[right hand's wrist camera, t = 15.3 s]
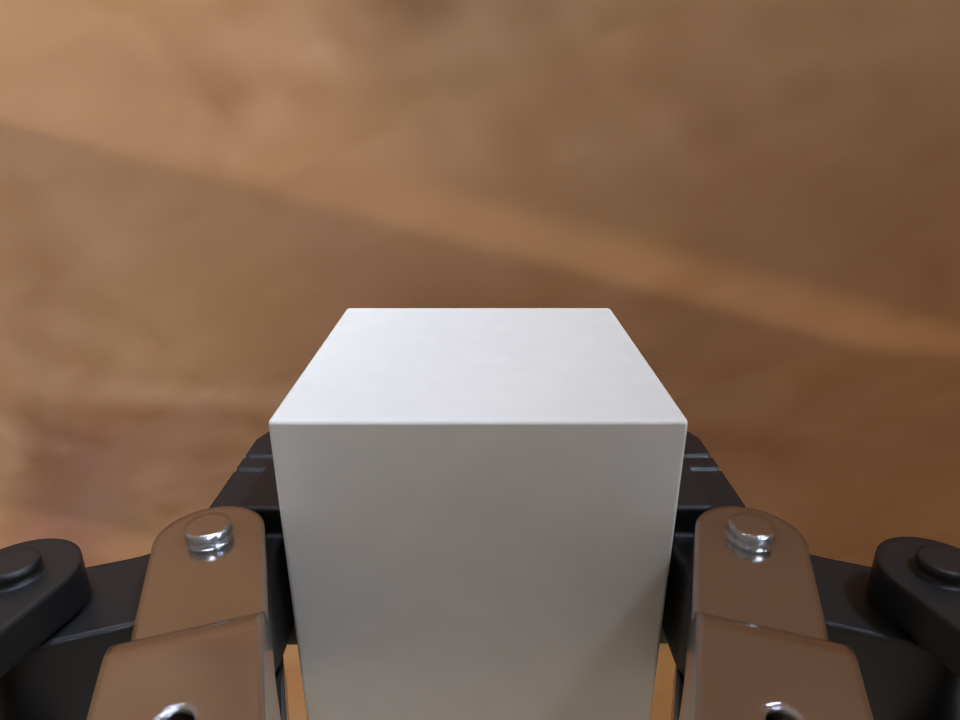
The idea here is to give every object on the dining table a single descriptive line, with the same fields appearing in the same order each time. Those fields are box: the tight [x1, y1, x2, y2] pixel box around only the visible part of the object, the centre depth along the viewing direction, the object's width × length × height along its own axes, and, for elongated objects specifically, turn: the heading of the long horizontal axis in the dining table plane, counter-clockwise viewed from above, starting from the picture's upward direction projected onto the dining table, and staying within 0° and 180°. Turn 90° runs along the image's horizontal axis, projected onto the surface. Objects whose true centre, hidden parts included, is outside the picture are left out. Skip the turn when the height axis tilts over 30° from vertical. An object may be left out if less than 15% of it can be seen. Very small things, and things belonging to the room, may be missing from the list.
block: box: [269, 308, 688, 720], centre depth 10 cm, size 5×5×4 cm
